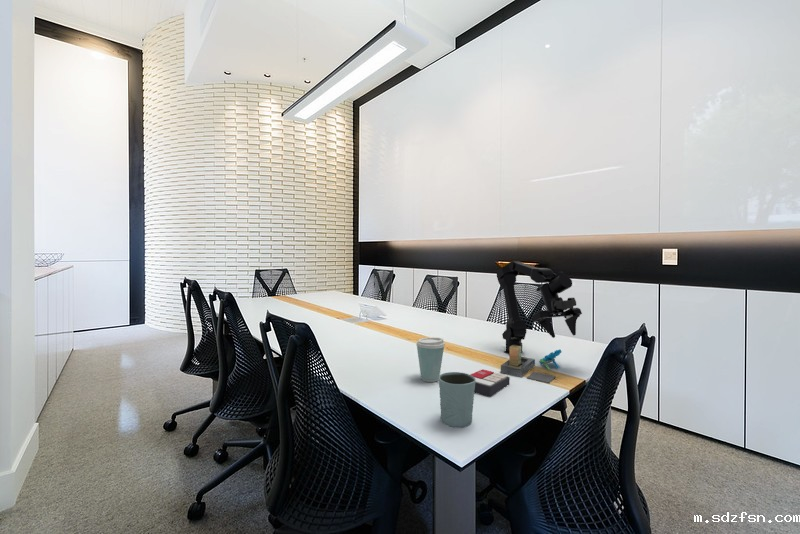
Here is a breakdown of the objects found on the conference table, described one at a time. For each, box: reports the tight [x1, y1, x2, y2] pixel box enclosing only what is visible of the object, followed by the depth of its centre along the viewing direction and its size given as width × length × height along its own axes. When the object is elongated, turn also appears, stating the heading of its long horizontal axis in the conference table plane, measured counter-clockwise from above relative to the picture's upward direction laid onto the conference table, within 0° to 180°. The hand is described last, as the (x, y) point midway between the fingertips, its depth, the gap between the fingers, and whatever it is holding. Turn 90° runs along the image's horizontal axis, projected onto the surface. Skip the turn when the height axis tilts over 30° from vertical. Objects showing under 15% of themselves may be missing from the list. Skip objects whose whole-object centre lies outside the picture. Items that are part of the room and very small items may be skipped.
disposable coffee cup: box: [416, 336, 446, 383], centre depth 130 cm, size 11×11×15 cm
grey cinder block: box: [500, 356, 536, 378], centre depth 141 cm, size 8×16×3 cm, turn 142°
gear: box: [539, 348, 562, 371], centre depth 144 cm, size 11×6×10 cm
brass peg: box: [508, 345, 522, 367], centre depth 138 cm, size 3×3×10 cm
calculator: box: [469, 369, 511, 398], centre depth 124 cm, size 11×4×15 cm
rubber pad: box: [526, 371, 557, 384], centre depth 132 cm, size 8×8×1 cm
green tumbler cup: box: [438, 371, 476, 429], centre depth 99 cm, size 10×10×12 cm
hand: (564, 336), depth 134 cm, fingers open, 9 cm apart
